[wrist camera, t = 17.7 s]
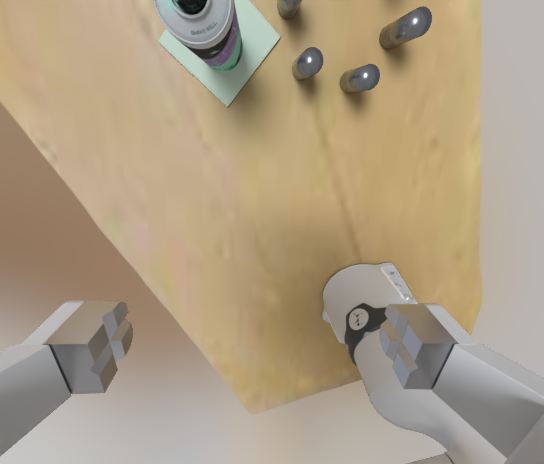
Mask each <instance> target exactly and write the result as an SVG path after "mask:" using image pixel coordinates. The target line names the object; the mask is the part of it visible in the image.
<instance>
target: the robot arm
mask: <svg viewBox="0 0 544 464" xmlns="http://www.w3.org/2000/svg"><path fill="white" fill-rule="evenodd" d="M390 272H391V273H390ZM323 302H324V309H323V312H322V317H323V319H324V321H326V322H328V323H330V324H331V326H332V328H333V330H334V333H335V335H336V337H337V339H338V341H339V342H340V343H342V344H344V345H346V348H347V351H348V354H349V356H350V357H351V359H352V361H353V363H354V364H355V365H356V366H357V368H358V370H359V373H360V375H361V378H362V381H363V383H364V386H365V388H366V391H367V393H368V396H369V399H370V401H371V403H372V405H373V407H374V408H375V409H376V411H377V412H378V413H379V414H380V415H381V416H382V417H383V418H384V419H386V420H387V421H389V422H390V423H392V424H394V425H396V426H398V427H401V428H404V429H407V430H412V431H416V432H420V433H423V434H426V435H428V436H430V437H431V438H433V439H435V440H436V441H438V442H439V443H440V444H442V445H443V446H444V447H445V448H446V449H447V450H448V451H447V452H445V453H444V454H442V455H438V456H434V457H430V458H426V459H423V460H419V461H415V462H412V463H408V464H544V377H542V376H540V375H538V374H536V373H534V372H533V371H531V370H529V369H527V368H525V367H524V366H522V365H520V364H518V363H516V362H514V361H513V360H511V359H509V358H507V357H505V356H503V355H502V354H500V353H498V352H496V351H494V350H493V349H491V348H489V347H487V346H485V345H484V344H477V343H476V342H475V341H474V340H473V339H472V337H471V336H470V335H469V334H468V333H467V332H466V331H465V330H464V329H463V328H462V327H461V326H460V325H459V324H458V323H457V322H456V321H455V320H454V319H453V318H452V317H451V316H450V314H449V313H448V312H447V311H446V310H445V309H444V308H443V307H442V306H440V305H438V304H436V303H428V304H418V303H417V301H416V300H415V298H414V296H413V295H412V293H411V292H410V290H409V288H408V287H407V285H406V283H405V282H404V280H403V279H402V277H401V275H400V274H399V272H398V271H397V269H396V267H395V266H394V264H393V263H391V262H387V263H382V264H378V265H370V264H359V265H353V266H350V267H347V268H345V269H343V270H341V271H339V272H338V273H336V274H335V275H334V276H333V277H332V278H331V279H330V280H329V281H328V283H327V284H326V286H325V288H324V291H323ZM127 314H128V308H127V305H126V303H124V302H117V301H75V300H73V301H72V300H71V301H68V302H65V303H64V304H63V305H62V306H61V307H60V308H59V309H58V310H56V311H55V312H54V313H53V314H52V315H51V316H50V317H49V318H48V319H47V320H46V321H45V322H44V323H43V324H42V325H41V326H40V327H39V328H38V329H37V330H35V331H34V332H33V333H32V334H31V335H30V336H29V337H28V338H27V339H26V340H25V341H24V342H23V343H22V344H21V345H13V346H11V347H9V348H7V349H5V350H3V351H1V352H0V456H1V455H2V454H4V453H5V452H6V451H7V450H8V449H9V448H11V447H12V446H13V445H14V444H15V443H16V442H18V441H19V440H20V439H21V438H22V437H23V436H25V435H26V434H27V433H28V432H29V431H31V430H32V429H33V428H34V427H35V426H36V425H37V424H39V423H40V422H41V421H42V420H43V419H45V418H46V417H47V416H48V415H50V414H51V413H52V412H53V411H54V410H55V409H57V408H58V407H59V406H60V405H61V404H62V403H64V402H65V401H66V400H67V399H68V398H70V397H71V394H85V393H86V394H87V393H105V392H106V390H107V388H108V386H109V384H110V383H111V381H112V379H113V377H114V376H115V374H116V372H117V370H118V369H117V365H116V363H117V362H118V361H119V360H121V359H122V358H123V357H125V356H126V354H127V352H128V350H129V348H130V346H131V342H132V338H133V328H132V324H131V323H130V322H129V321H128V320H127V319H126V318H125V317H126V315H127Z"/></svg>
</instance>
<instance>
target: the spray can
mask: <svg viewBox="0 0 544 464" xmlns="http://www.w3.org/2000/svg"><path fill="white" fill-rule="evenodd" d="M153 1H154V5H155V8H156V11H157V13H158V15H159V17H160V19H161V21H162V22H163V24H164V26H165V27H166V29H167V30H168V31H169V32H170V33H171V35H172V36H173V37H175V38H176V39H177V40H178V41H179V42H181V43H182V44H183V45H184V46H185V47H187V48H188V49H189V50H190V51H192V52H193V53H194V54H195V55H196V56H198V57H199V58H200V59H201V60H203V61H204V62H205V63H206V64H208V65H209V66H210V67H211V68H213V69H215V70H217V71H222V72H225V71H229V70H232V69H233V68H235V67H236V66H237V65H238V63H239V61H240V59H241V57H242V51H243V45H242V39H241V34H240V28H239V23H238V18H237V13H236V8H235V3H234V0H153Z"/></svg>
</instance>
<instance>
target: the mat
mask: <svg viewBox="0 0 544 464" xmlns="http://www.w3.org/2000/svg"><path fill="white" fill-rule="evenodd" d="M234 3H235V8H236V13H237V18H238V23H239V28H240V34H241V39H242V45H243V51H242V57H241V59H240V61H239V63H238V65H237V66H236V67H235V68H233V69H232V70H229V71H225V72H222V71H217V70H215V69H213V68H211V67H210V66H209V65H208V64H206V63H205V62H204V61H203V60H201V59H200V58H199V57H198V56H196V55H195V54H194V53H193V52H192V51H190V50H189V49H188V48H187V47H185V46H184V45H183V44H182V43H181V42H179V41H178V40H177V39H176V38H175V37H173V36H172V35H171V33H170V32H169V31H168V30H167V29H165V31H164V33H163V34H162V36H161V38H160V39H159V41H158V42H159V43H160V44H161V45H162V46H163V47H164V48H165V49H166V50H167V51H168V52H170V53H171V54H172V55H173V56H174V57H175V58H176V59H177V60H178V61H179V62H180V63H181V64H182V65H183V66H184V67H185V68H186V69H188V70H189V71H190V72H191V73H192V74H193V75H194V76H195V77H196V78H197V79H198V80H199V81H200V82H201V83H202V84H203V85H204V86H206V87H207V88H208V89H209V90H210V91H211V92H212V93H213V94H214V95H215V96H216V97H217V98H218V99H219V100H220V101H221V102H222V103H224V104H225V105H226V106H227V107H228V106H229V105H230V103H231V102H232V101H233V99H234V98H235V97H236V95H237V94H238V93H239V91H240V90H241V89H242V87H243V86H244V85H245V83H246V82H247V81H248V79H249V78H250V77H251V75H252V74H253V73H254V72H255V70H256V69H257V68H258V66H259V65H260V64H261V62H262V61H263V60H264V58H265V57H266V56H267V54H268V53H269V52H270V50H271V49H272V48H273V46H274V45H275V44H276V42H277V41H278V40H279V38H280V36H279V35H278V33H277V32H276V31H275V30H274V29H273V28H272V26H271V25H270V24H269V23H268V22H267V20H266V19H265V18H264V17H263V16H262V15H261V13H260V12H259V11H258V10H257V9H256V8H255V6H254V5H253V4H252V3H251V2H250V1H249V0H234Z"/></svg>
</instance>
